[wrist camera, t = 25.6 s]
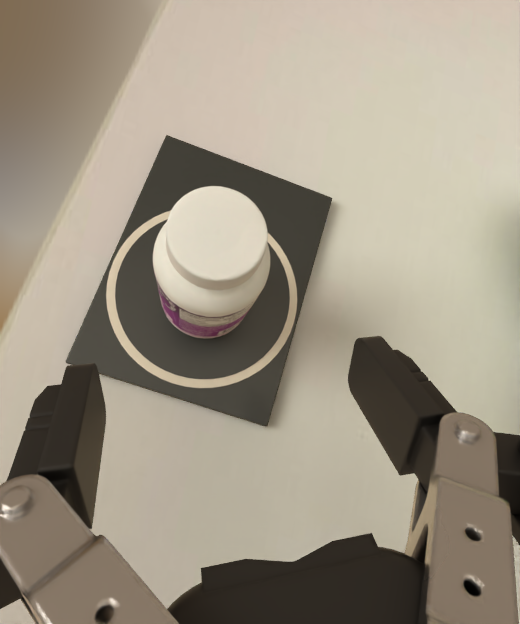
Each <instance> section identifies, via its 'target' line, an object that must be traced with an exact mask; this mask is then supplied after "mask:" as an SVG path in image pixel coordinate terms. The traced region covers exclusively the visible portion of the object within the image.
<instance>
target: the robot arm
mask: <svg viewBox="0 0 520 624" xmlns="http://www.w3.org/2000/svg"><path fill="white" fill-rule="evenodd" d="M348 383H349V388H350V391H351V393H352V395H353V397H354V399H355V400H356V402H357V404H358V405H359V407H360V409H361V410H362V412H363V414H364V415H365V417H366V419H367V421H368V422H369V424H370V426H371V427H372V429H373V431H374V432H375V434H376V436H377V438H378V439H379V441H380V443H381V444H382V446H383V448H384V449H385V451H386V453H387V454H388V456H389V458H390V460H391V461H392V463H393V465H394V466H395V468H396V470H397V471H398V473H399V475H406V474H412V473H415V475H416V476H417V478H418V481H417V484H416V488H415V495H414V502H413V508H412V515H411V521H410V528H409V535H408V541H407V545H406V549H405V553H401V552H398V551H395V550H392V549H387V548H383V547H378V546H377V544H376V542H375V540H374V537H373V535H372V533H370V534H365V535H360V536H356V537H351V538H346V539H341V540H336V541H332V542H330V543H328V544H326V545H325V546H323V547H321V548H319V549H317V550H315V551H313V552H312V553H310V554H308V555H306V556H304V557H302V558H301V559H299V560H297V561H294V562H282V561H267V560H253V559H244V560H239V561H234V562H229V563H224V564H219V565H214V566H209V567H205V568H201V575H202V583H200V584H198V585H196V586H194V587H193V588H191V589H190V590H188V591H187V592H185V593H184V594H182V595H181V596H180V597H179V598H178V599H177V600H176V601H174V602H173V603H172V604H171V605H170V607H169V608H168V609H166V608H165V606H164V605H163V604H162V603H161V602H160V601H159V599H158V598H157V597H156V596H155V595H154V594H153V592H152V591H151V590H150V589H149V588H148V586H147V585H146V584H145V583H144V582H143V581H142V579H141V578H140V577H139V576H138V575H137V574H136V572H135V571H134V570H133V569H132V568H131V566H130V565H129V564H128V563H127V562H126V561H125V559H124V558H123V557H122V556H121V555H120V554H119V552H118V551H117V550H116V549H115V548H114V546H113V545H112V544H111V543H110V542H109V541H108V540H107V539H106V538H105V537H104V536H102V535H99V536H95V535H94V534H93V533H92V532H91V531H90V529H92V523H93V516H94V508H95V501H96V493H97V485H98V478H99V470H100V462H101V455H102V447H103V440H104V432H105V424H106V409H105V402H104V397H103V392H102V387H101V383H100V378H99V373H98V369H97V365H96V364H95V363H92V364H82V365H71V366H67V367H66V370H65V373H64V377H63V380H62V384H61V385H53V386H47V387H46V388H45V390H44V391H43V392H42V393H41V394H40V395H39V396H38V397H37V398H36V399H35V401H34V404H33V407H32V410H31V413H30V418H28V421H27V424H26V427H25V429H26V430H25V431H24V433H23V436H22V439H21V442H20V444H19V447H18V450H17V453H16V456H15V459H14V462H13V465H12V467H11V470H10V473H9V476H8V479H7V481H6V482H5V483H3V484H2V485H0V609H1V608H3V607H5V606H7V605H9V604H11V603H12V602H14V601H16V600H18V599H21V601H22V602H23V604H24V606H25V607H26V609H27V611H28V612H29V614H30V615H31V617H32V619H33V620H34V622H35V624H519V622H518V608H517V594H516V581H515V567H514V553H513V540H512V535H513V536H514V538H515V539H516V541H517V542H518V543H519V545H520V435H512V434H504V433H496V432H493V431H492V430H491V429H490V427H489V426H488V425H486V424H485V423H484V422H483V421H481V420H479V419H478V418H476V417H474V416H471V415H468V414H465V413H457V412H456V410H455V409H454V408H453V407H452V406H451V405H450V403H449V402H448V401H447V400H446V399H445V398H444V396H443V395H442V394H441V393H440V392H439V391H438V389H437V388H436V387H435V386H434V385H433V384H432V382H431V381H428V378H427V377H426V375H425V374H424V373H423V372H421V370H420V368H419V367H418V366H417V365H416V364H415V363H414V361H413V360H412V359H411V358H409V357H408V356H406V355H405V354H403V353H402V352H400V351H399V350H392V348H391V347H390V346H389V345H388V343H387V342H386V341H385V340H384V339H383V338H382V337H381V336H375V337H365V338H358V339H356V341H355V344H354V349H353V354H352V359H351V364H350V369H349V374H348Z"/></svg>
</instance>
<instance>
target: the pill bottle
mask: <svg viewBox="0 0 520 624" xmlns="http://www.w3.org/2000/svg"><path fill="white" fill-rule="evenodd" d="M267 241H268V232H267V226H266V222H265V219H264V217H263V215H262V213H261V212H260V210H259V208H258V207H257V206H256V205H255V203H253V202H252V201H251V200H250V199H249V198H248V197H246V196H245V195H243V194H242V193H240V192H238V191H235V190H233V189H230V188H226V187H221V186H208V187H202V188H199V189H195V190H193V191H191V192H189V193H187V194H186V195H184V196H183V197H182V198H181V199H180V200H179V201H178V202H177V203H176V204H175V205H174V207H173V208H172V210H171V212H170V214H169V217H168V220H167V222H166V223H165V224H164V226H163V227H162V229H161V230H160V232H159V234H158V236H157V238H156V241H155V245H154V251H153V268H154V274H155V277H156V281H157V285H158V290H159V295H160V300H161V304H162V307H163V310H164V312H165V314H166V316H167V318H168V319H169V321H170V322H171V323H172V324H173V325H174V326H175V327H176V328H177V329H179V330H180V331H182V332H183V333H185V334H187V335H190V336H192V337H196V338H204V339H206V338H215V337H219V336H222V335H225V334H227V333H229V332H230V331H232V330H233V329H234V328H235V327H236V326H238V324H239V323H240V322H241V321H242V320H243V318H244V317H245V316H246V314H247V313H248V311H249V310H250V308H251V307H252V305H253V304H254V302H255V301H256V299H257V298H258V296H259V294H260V293H261V291H262V290H263V288H264V286H265V284H266V281H267V278H268V275H269V270H270V251H269V247H268V243H267Z"/></svg>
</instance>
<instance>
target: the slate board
mask: <svg viewBox="0 0 520 624" xmlns="http://www.w3.org/2000/svg"><path fill="white" fill-rule="evenodd" d="M208 186H221V187H226V188H230V189H233V190H235V191H238V192H240V193H242V194H243V195H245V196H246V197H248V198H249V199H250V200H251V201H252V202H253V203H255V205H256V206H257V207H258V208H259V210H260V212H261V213H262V215H263V217H264V219H265V222H266V226H267V232H268V241H267V243H268V247H269V251H270V270H269V275H268V278H267V281H266V284H265V286H264V288H263V290H262V291H261V293H260V294H259V296H258V298H257V299H256V301H255V302H254V304H253V305H252V307H251V308H250V310H249V311H248V313H247V314H246V316H245V317H244V318H243V320H242V321H241V322H240V323H239V324H238V326H236V327H235V328H234V329H233V330H232V331H230V332H229V333H227V334H225V335H222V336H219V337H215V338H206V339H204V338H196V337H192V336H190V335H187V334H185V333H183V332H182V331H180V330H179V329H177V328H176V327H175V326H174V325H173V324H172V323H171V322H170V321H169V319H168V318H167V316H166V314H165V312H164V310H163V307H162V304H161V300H160V295H159V290H158V285H157V281H156V277H155V274H154V268H153V251H154V245H155V241H156V238H157V236H158V234H159V232H160V230H161V229H162V227H163V226H164V224H165V223H166V222H167V220H168V217H169V214H170V212H171V210H172V208H173V207H174V205H175V204H176V203H177V202H178V201H179V200H180V199H181V198H182V197H183V196H184V195H186V194H187V193H189V192H191V191H193V190H195V189H199V188H202V187H208ZM331 201H332V198H331V197H328V196H325V195H323V194H320V193H318V192H315V191H312V190H310V189H307V188H304V187H302V186H299V185H297V184H294V183H291V182H289V181H286V180H283V179H281V178H278V177H275V176H273V175H270V174H268V173H265V172H262V171H260V170H257V169H254V168H252V167H249V166H247V165H244V164H241V163H239V162H236V161H233V160H231V159H228V158H226V157H223V156H220V155H218V154H215V153H212V152H210V151H207V150H204V149H202V148H199V147H197V146H194V145H191V144H189V143H186V142H183V141H181V140H178V139H176V138H173V137H170V136H168V135H166V137H165V139H164V142H163V144H162V146H161V148H160V151H159V153H158V155H157V157H156V160H155V162H154V164H153V166H152V169H151V171H150V173H149V175H148V178H147V180H146V182H145V184H144V187H143V189H142V191H141V193H140V196H139V198H138V200H137V202H136V205H135V207H134V209H133V211H132V214H131V216H130V218H129V220H128V223H127V225H126V227H125V229H124V232H123V234H122V236H121V238H120V241H119V243H118V245H117V247H116V250H115V252H114V254H113V256H112V258H111V261H110V263H109V265H108V267H107V270H106V272H105V274H104V276H103V279H102V281H101V283H100V285H99V288H98V290H97V292H96V294H95V297H94V299H93V301H92V303H91V306H90V308H89V310H88V312H87V315H86V317H85V319H84V321H83V324H82V326H81V328H80V330H79V333H78V335H77V337H76V339H75V342H74V344H73V346H72V348H71V351H70V353H69V355H68V357H67V360H66V363H68V364H71V365H82V364H92V363H95V364H96V365H97V369H98V373H99V374H102V375H106V376H109V377H112V378H115V379H118V380H121V381H124V382H128V383H131V384H134V385H137V386H140V387H143V388H146V389H149V390H153V391H156V392H159V393H162V394H165V395H168V396H171V397H175V398H178V399H181V400H184V401H187V402H190V403H193V404H197V405H200V406H203V407H206V408H209V409H212V410H215V411H219V412H222V413H225V414H228V415H231V416H234V417H237V418H240V419H244V420H247V421H250V422H253V423H256V424H259V425H262V426H267V425H268V422H269V418H270V415H271V411H272V408H273V404H274V401H275V397H276V394H277V390H278V387H279V383H280V380H281V376H282V373H283V369H284V366H285V362H286V359H287V355H288V352H289V348H290V345H291V341H292V338H293V334H294V331H295V327H296V324H297V320H298V317H299V313H300V310H301V306H302V303H303V299H304V296H305V292H306V289H307V285H308V282H309V278H310V275H311V271H312V268H313V264H314V260H315V257H316V253H317V250H318V246H319V243H320V239H321V236H322V232H323V229H324V225H325V222H326V218H327V215H328V211H329V208H330V204H331Z"/></svg>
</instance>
